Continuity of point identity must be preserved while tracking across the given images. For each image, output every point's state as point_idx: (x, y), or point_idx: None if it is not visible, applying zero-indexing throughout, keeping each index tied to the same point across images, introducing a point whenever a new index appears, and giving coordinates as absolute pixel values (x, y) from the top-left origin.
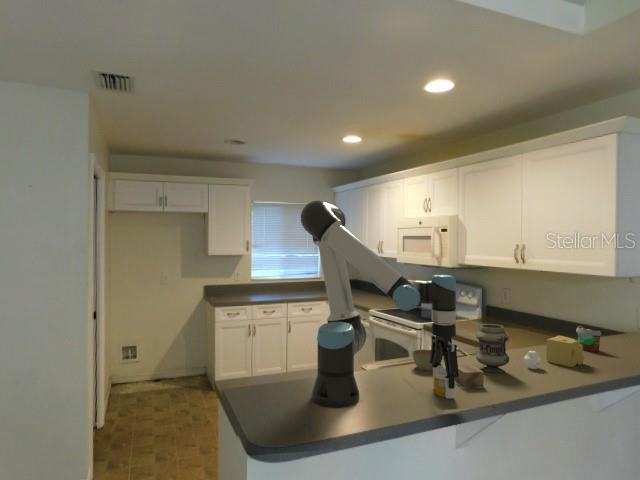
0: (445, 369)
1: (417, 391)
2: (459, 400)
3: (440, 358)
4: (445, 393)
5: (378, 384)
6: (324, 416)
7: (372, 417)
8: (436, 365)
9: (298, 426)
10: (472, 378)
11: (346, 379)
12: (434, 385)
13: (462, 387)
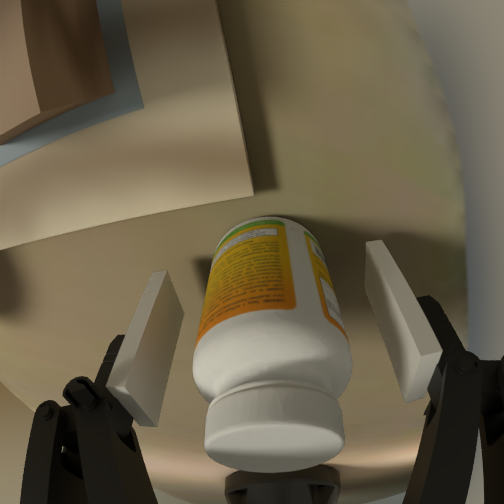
0: (342, 442)
1: (192, 356)
2: (333, 179)
3: (131, 493)
4: (372, 307)
5: (148, 429)
6: (372, 477)
7: (407, 440)
8: (121, 424)
9: (396, 481)
10: (62, 21)
11: None
12: (180, 319)
13: (118, 106)
